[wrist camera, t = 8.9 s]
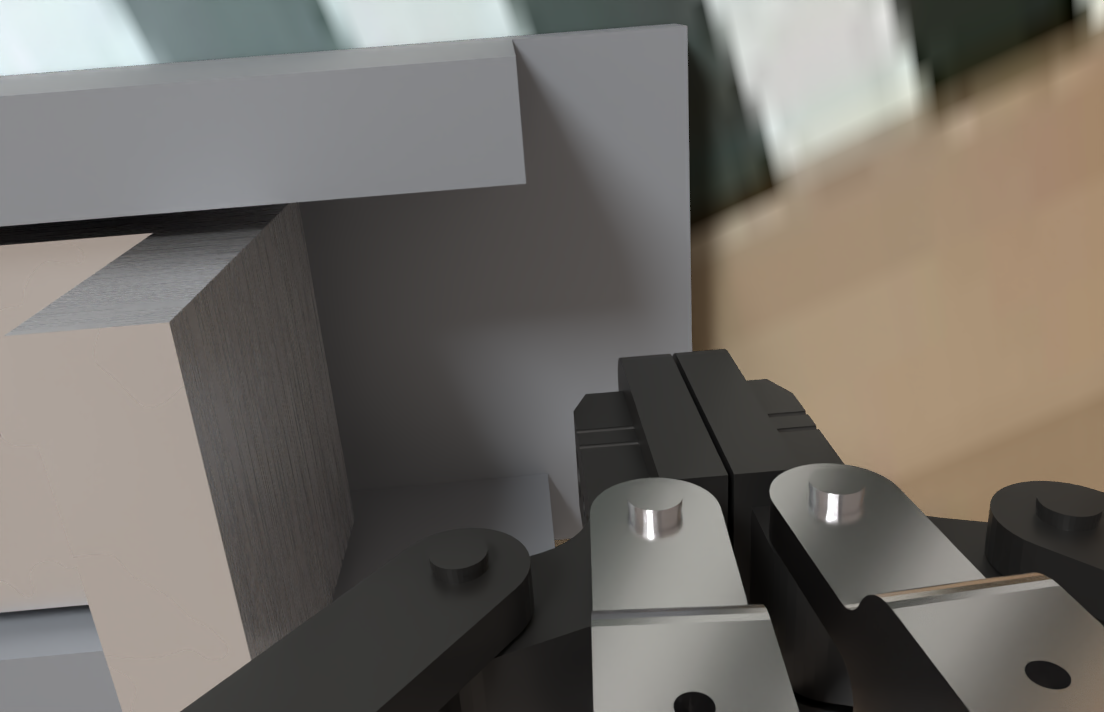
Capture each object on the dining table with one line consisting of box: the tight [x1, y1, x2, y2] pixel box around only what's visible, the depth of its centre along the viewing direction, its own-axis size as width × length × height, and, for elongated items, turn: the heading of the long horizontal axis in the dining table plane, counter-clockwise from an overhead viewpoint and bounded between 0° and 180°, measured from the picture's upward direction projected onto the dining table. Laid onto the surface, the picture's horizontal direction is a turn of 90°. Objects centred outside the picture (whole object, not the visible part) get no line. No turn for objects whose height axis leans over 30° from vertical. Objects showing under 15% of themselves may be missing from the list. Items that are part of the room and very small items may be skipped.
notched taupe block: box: [0, 202, 354, 712], centre depth 13 cm, size 6×7×8 cm
